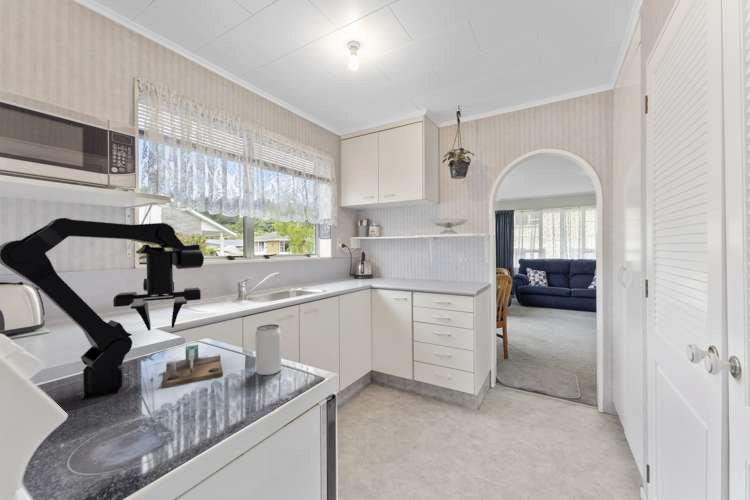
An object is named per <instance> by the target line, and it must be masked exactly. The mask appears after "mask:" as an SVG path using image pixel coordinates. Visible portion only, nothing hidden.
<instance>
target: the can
mask: <svg viewBox="0 0 750 500" xmlns="http://www.w3.org/2000/svg"><path fill="white" fill-rule="evenodd" d="M281 335H282V333H281V329H280V325H279V324H275V323H274V324H273V323H271V324H270V323H269V324H263V325H259V326H257V327H256V331H255V337H254V339H255V340H254V341H255V370H256V371H255V373H257V375H259V374H260V375H259V376H262V375H268V376H273V375H276V374H278V373H279V372H281V369H282V337H281ZM275 373H276V374H275ZM272 374H273V375H272Z"/></svg>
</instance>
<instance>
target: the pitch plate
mask: <svg viewBox="0 0 750 500" xmlns="http://www.w3.org/2000/svg"><path fill="white" fill-rule="evenodd" d="M222 366H223V365H222V362H221V353H216V354H211V355H204V356H198V359H196V360H193V373H190V361H186V358H185V359H180V360H174V361H168V362H166V363H165V368H166V369H165V373H164V377H163V382H162V388H163V389H164V388H169V387H174V386H179V385H184V384H189V383H193V382H194V383H195V382H199V380H200V381H204V380H203V379H205V380H209V378H210V379H215V378H220V377H223V375H224V372H223V367H222ZM219 376H220V377H219Z"/></svg>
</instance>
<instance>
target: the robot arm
mask: <svg viewBox="0 0 750 500" xmlns="http://www.w3.org/2000/svg"><path fill="white" fill-rule="evenodd" d="M68 237H76V238H90V239H93V238H95V239H112V240H113V239H115V240H128V241H133V242H136V243H141V244H143V245H142V247H140V248H139V249H138V250H136V252H135V253H136V254H139V255H140V254H141V255H142V254H143V255H144V254H145V257H146V258H145V259H146V261H145V262H146V278H143V283H142V284H143V285H142V286H143V287H142V288H143V291H144V292H146V293H142V294H138V293H137V291H130V292H120V293H118V294H116V295H115V296H114V297H113V301H112V302H113V307H115V308H118V307H119V308H120V307H129V306H130V305H131V306H130V309H131V310H132V309H133V310H134V309H135V310H136V312H137V313H138V315H139V316H140V317H141V318H142V321H143V324H145V327H146V329H147V331H151V317H150V312H149V302H150V301H151V302H152V301H163V300H165V301H166V300H174V303H173V307H172V315H171V328H174V327H175V324H176V321H177V319H178V318H177V317H178V314H179V312H180V310H181V308H182V306H183V305H186V304H187V303H188V302H189V301H199V300H201V297H202V294H201V293H202V291H201V289H200V288H199V287H189V288H188V287H187V288H184V289H183V291H175V282H174V275H173V274H174V273H173V272H174V270H173V266H174V267H175V268H176V269H178V270H185V269H199V268H202V266H203V265H204V261H205V260H204V259H205V257H204V255H203V252H202V250H201V249H200V244H190V245H184V243H183V242H182V241H181V240H180V239H179V237H178V236H177V235H176V231H175V229H174V228H173V226H172V225H171V224H169V223H167V222H155V223H143V224H142V223H139V224H127V223H115V222H103V221H93V220H81V219H80V220H79V219H71V218H67V217H61V218H60V217H59V218H55V219H53V220H51V221H50V222H49V223H48V224H45V226H43V227H41V228H39V229H38V230H36V231H34V232H32V233H31V234H29V235H27V236H25V237H23V238H22V239H19V240H17V239H16V240H10V241H7V242H4V243H3V244H1V245H0V265H1V266H3V267H5V268H6V269H8V270H9V271H12V272H13V274H16V275H18V277H21V278H22V279H25V281H28V282H29V283H31V284H32V285H34V286H35V287H36V288H37V289H38V290H39V291H40V292H41V293H42V294H43V295H44V296H45V297H47V298H48V299H49V300H50V301H51V302H52V303H53V304H54V305H55V306H56V307H58V309H59V310H60V311H62V313H64V315H66V316H67V317H68V318H69V319H70V320H71V321H72V322H73V323H74V324H75V325H77V326H78V327H79V328H80V329H81V330H82V332H83V333H84V335H85V338H86V339H87V341H88V342H89V344H90V345H91V347H90V348H88V350H87V351H86V352H84V354H82V355H81V356H80V360H81V362H82V363H83V364H84V365H85V367H84V369H83V370H82V374H83V395H81V398H80V399H81V401H83V400H88V399H94V398H98V397H103V396H104V397H105V396H108V395H113V394H118V393H119V392H120V390H121V388H123V386H124V384H125V367H124V366H122V364H123V363H124V360H125V357H126V355H127V354H129V352H130V351H131V350H132V345H133V340H132V338H131V336H133V334H132V333H129V332H128V331H126V329H125V327H124V326H123V324H121V322H118V321H115V320H112V319H110V320H109V321H108V322H107V321H105V320H104V319H102V318H101V317H100V316H99V314H98V313H97V312H96V311H95V310H94V309H93V308H91V307H90V305H88V304H87V302H86V301H85V300H83V299H82V297H80V296H79V295H78V294H77V292H75V291H74V290H73V288H71V287H70V286H69V284H67V283H66V282H65V281H64V280H63V278H61V277H60V276H59V275H58V273H57V271H56V270H55V268H54V265H53V264H52V261H51V260H50V259H49V256H48V255H47V254H46V253H48V252H50V250H52V249H54V248H55V247H57V245H59V244H60V243H62V242H63V241H64V240H65V239H67V238H68ZM150 245H151V246H150ZM153 246H155V247H153ZM157 246H159V247H157ZM166 249H172V250H166Z"/></svg>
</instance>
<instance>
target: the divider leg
mask: <svg viewBox="0 0 750 500" xmlns="http://www.w3.org/2000/svg"><path fill="white" fill-rule="evenodd" d="M198 357H199V344H194V345H188V346H185V359H186V361H190V373H193V360H196V359H198Z"/></svg>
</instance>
